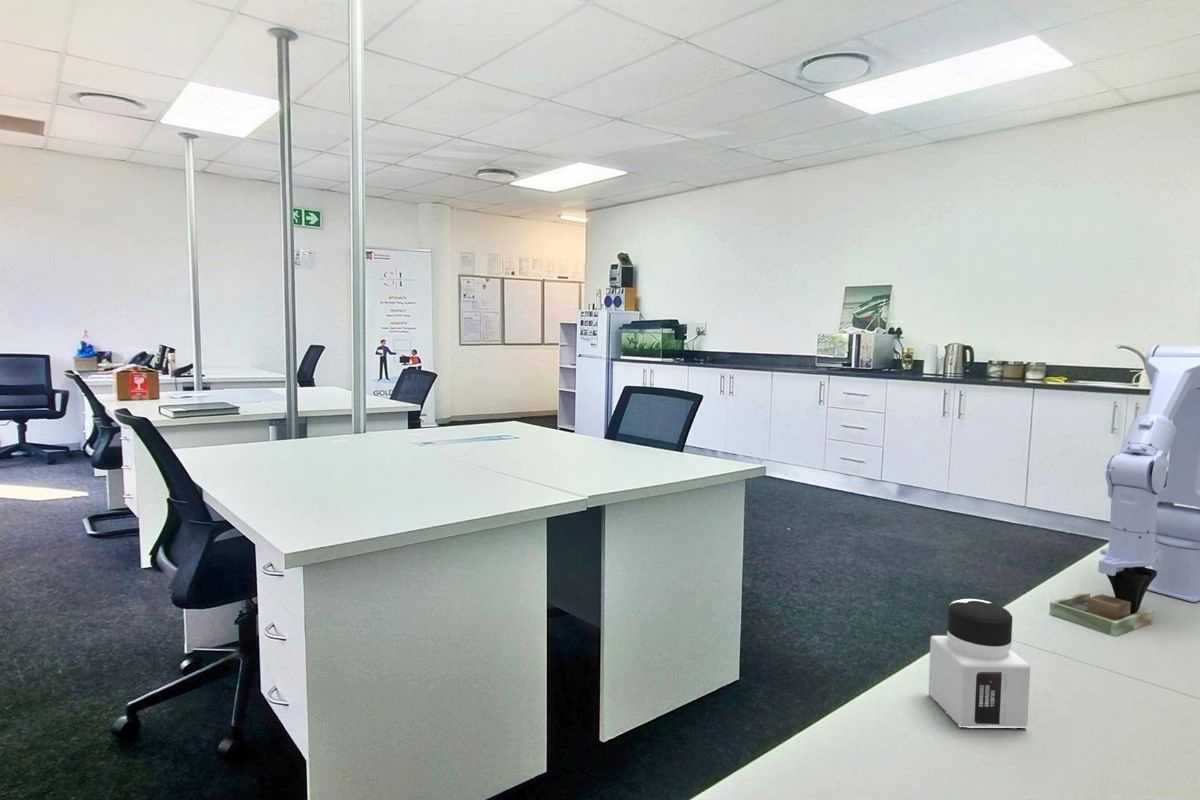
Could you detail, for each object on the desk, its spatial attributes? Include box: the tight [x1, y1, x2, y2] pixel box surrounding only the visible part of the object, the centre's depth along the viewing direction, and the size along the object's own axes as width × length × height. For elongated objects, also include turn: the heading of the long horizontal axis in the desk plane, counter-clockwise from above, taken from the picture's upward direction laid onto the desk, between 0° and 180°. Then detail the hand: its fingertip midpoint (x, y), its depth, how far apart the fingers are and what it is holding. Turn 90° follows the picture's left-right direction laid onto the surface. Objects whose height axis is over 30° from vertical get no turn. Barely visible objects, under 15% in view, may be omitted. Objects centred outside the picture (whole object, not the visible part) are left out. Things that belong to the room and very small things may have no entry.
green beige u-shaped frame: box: [1049, 591, 1153, 637], centre depth 106 cm, size 10×9×2 cm
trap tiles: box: [1071, 602, 1088, 612], centre depth 110 cm, size 6×2×1 cm, turn 117°
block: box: [1087, 593, 1131, 621], centre depth 104 cm, size 4×4×4 cm
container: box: [928, 598, 1031, 727], centre depth 78 cm, size 8×8×13 cm
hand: (1127, 611), depth 107 cm, fingers closed
